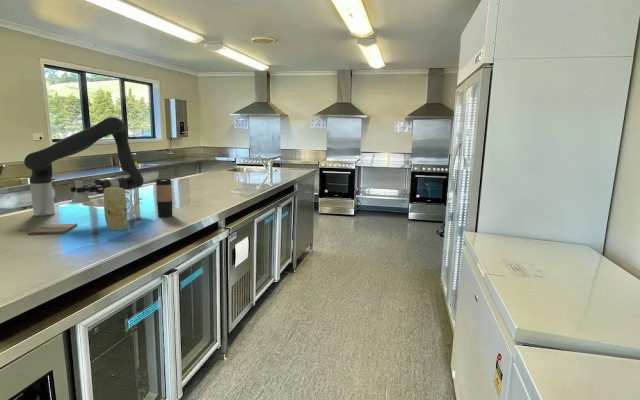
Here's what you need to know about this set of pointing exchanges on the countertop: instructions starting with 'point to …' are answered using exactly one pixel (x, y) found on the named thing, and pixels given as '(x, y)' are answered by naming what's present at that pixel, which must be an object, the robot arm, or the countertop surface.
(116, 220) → the food model
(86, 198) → the flask
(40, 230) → the walnut board
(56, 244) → the countertop surface
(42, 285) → the countertop surface
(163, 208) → the travel mug
